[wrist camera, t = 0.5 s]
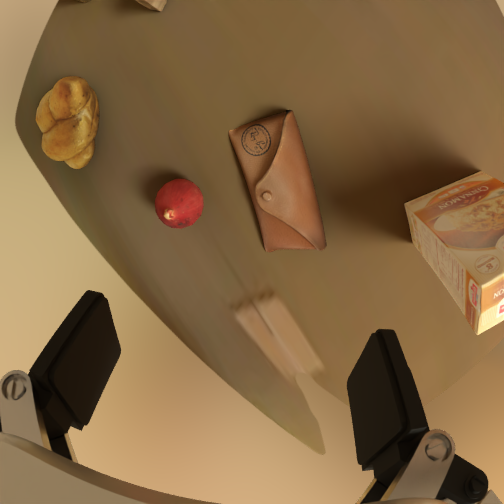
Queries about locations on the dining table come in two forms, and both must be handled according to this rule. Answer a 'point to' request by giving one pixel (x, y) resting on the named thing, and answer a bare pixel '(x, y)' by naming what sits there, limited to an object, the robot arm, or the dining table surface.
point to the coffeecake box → (465, 244)
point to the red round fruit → (179, 203)
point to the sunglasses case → (280, 182)
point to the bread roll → (69, 121)
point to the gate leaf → (153, 4)
